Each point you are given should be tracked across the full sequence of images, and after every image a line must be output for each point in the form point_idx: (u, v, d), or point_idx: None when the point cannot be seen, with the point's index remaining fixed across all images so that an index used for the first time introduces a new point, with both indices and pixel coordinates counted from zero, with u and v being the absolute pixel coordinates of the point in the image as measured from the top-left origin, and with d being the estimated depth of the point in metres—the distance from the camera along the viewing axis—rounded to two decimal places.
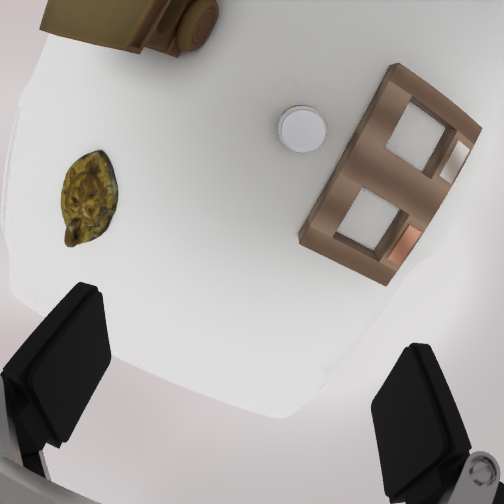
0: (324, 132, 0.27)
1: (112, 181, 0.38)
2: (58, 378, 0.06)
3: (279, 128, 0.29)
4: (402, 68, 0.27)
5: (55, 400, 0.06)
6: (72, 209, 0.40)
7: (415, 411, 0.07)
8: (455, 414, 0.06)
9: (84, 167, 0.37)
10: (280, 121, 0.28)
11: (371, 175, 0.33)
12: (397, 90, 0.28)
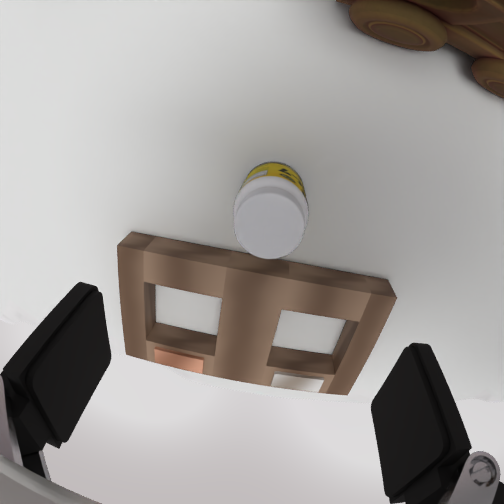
0: (277, 257, 0.18)
1: None
2: (58, 378, 0.06)
3: (261, 182, 0.19)
4: (390, 303, 0.25)
5: (55, 400, 0.06)
6: None
7: (415, 411, 0.07)
8: (455, 414, 0.06)
9: None
10: (273, 180, 0.19)
11: (240, 304, 0.27)
12: (361, 305, 0.26)
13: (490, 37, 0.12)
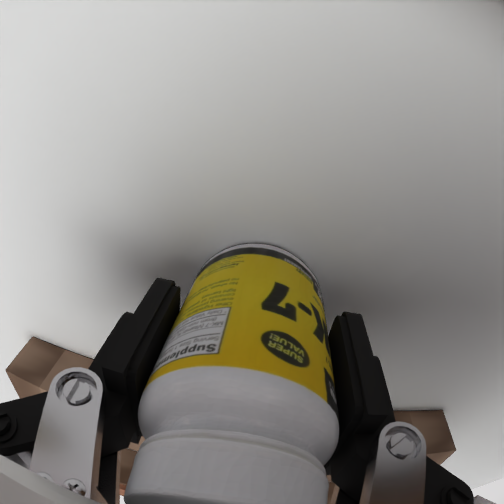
0: None
1: None
2: (150, 372, 0.07)
3: (198, 394, 0.05)
4: (444, 457, 0.12)
5: None
6: None
7: (338, 376, 0.08)
8: (374, 380, 0.07)
9: None
10: (236, 391, 0.05)
11: None
12: None
13: None
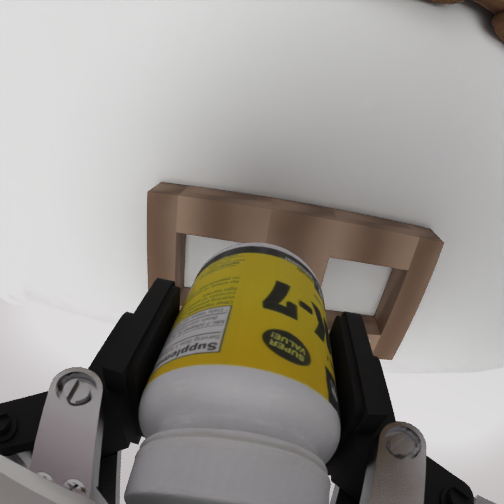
0: None
1: None
2: (150, 372, 0.07)
3: (199, 392, 0.05)
4: (438, 249, 0.23)
5: None
6: None
7: (338, 376, 0.08)
8: (374, 380, 0.07)
9: None
10: (237, 390, 0.05)
11: None
12: (409, 250, 0.23)
13: None
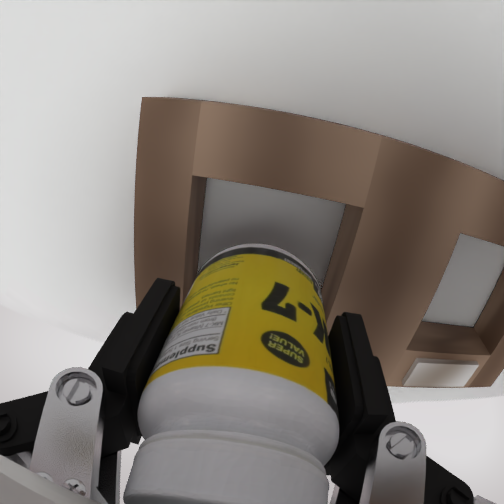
0: None
1: None
2: (150, 372, 0.07)
3: (198, 394, 0.05)
4: None
5: None
6: None
7: (338, 376, 0.08)
8: (374, 380, 0.07)
9: None
10: (236, 391, 0.05)
11: (395, 221, 0.12)
12: None
13: None
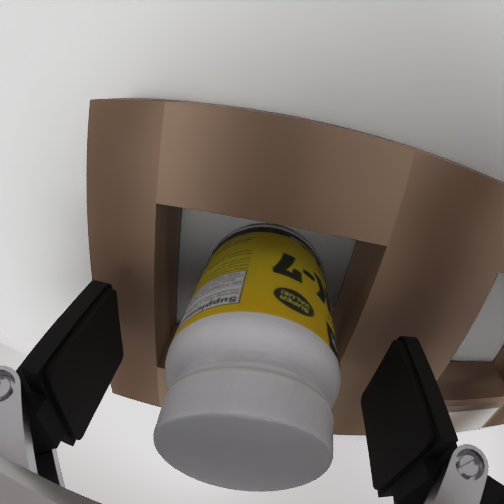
0: (262, 490, 0.07)
1: None
2: (74, 375, 0.06)
3: (223, 334, 0.07)
4: None
5: (71, 397, 0.06)
6: None
7: (402, 403, 0.07)
8: (441, 406, 0.06)
9: None
10: (255, 330, 0.07)
11: (425, 262, 0.09)
12: None
13: None
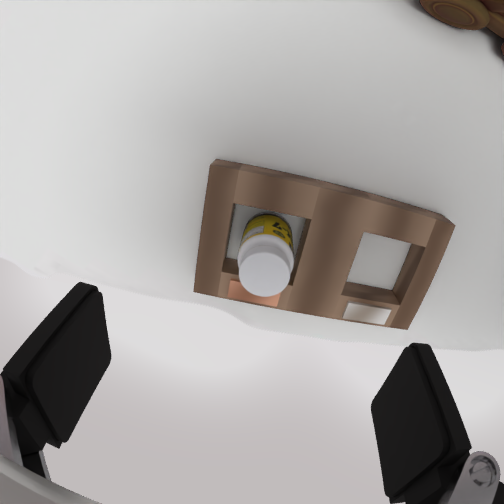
0: (269, 295, 0.25)
1: None
2: (58, 378, 0.06)
3: (259, 239, 0.26)
4: (450, 230, 0.27)
5: (55, 400, 0.06)
6: None
7: (415, 411, 0.07)
8: (455, 414, 0.06)
9: None
10: (268, 238, 0.26)
11: (327, 225, 0.28)
12: (428, 230, 0.27)
13: None
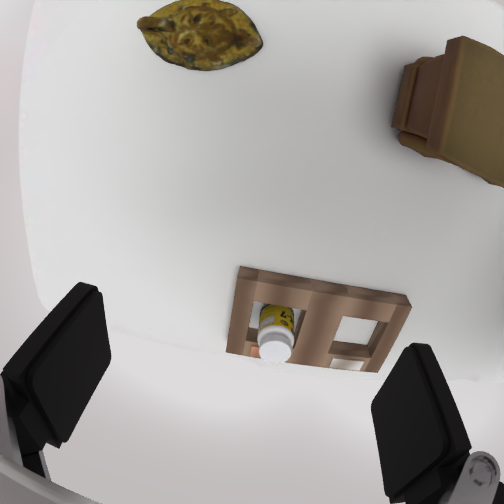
0: (278, 363, 0.38)
1: (227, 64, 0.31)
2: (58, 378, 0.06)
3: (271, 329, 0.39)
4: (408, 310, 0.40)
5: (55, 400, 0.06)
6: (184, 17, 0.28)
7: (415, 411, 0.07)
8: (455, 414, 0.06)
9: (240, 27, 0.29)
10: (277, 328, 0.39)
11: (317, 313, 0.41)
12: (390, 312, 0.40)
13: None
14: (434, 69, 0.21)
